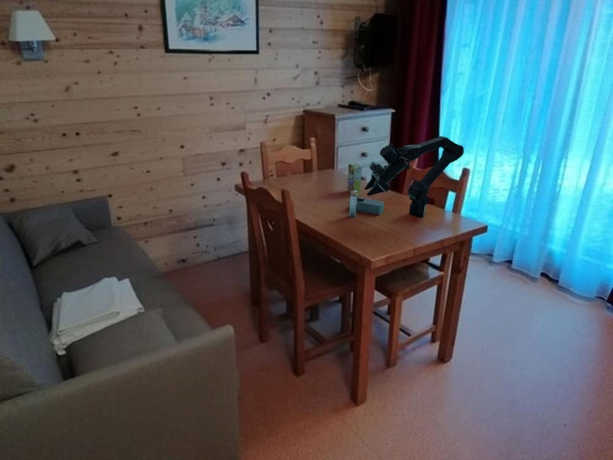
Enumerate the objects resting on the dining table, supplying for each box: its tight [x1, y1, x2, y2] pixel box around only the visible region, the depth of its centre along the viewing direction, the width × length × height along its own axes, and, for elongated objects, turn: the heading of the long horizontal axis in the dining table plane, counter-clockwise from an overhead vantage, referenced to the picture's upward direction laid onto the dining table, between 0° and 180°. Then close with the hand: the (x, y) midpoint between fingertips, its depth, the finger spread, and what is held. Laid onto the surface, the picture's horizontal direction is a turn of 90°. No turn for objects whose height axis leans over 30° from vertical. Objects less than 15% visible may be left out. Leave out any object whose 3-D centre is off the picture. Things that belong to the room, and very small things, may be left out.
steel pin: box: [348, 190, 358, 218], centre depth 207 cm, size 3×3×12 cm
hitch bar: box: [348, 196, 385, 216], centre depth 217 cm, size 15×7×4 cm, turn 64°
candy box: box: [347, 162, 363, 196], centre depth 240 cm, size 9×4×15 cm, turn 17°
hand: (366, 192), depth 205 cm, fingers open, 9 cm apart
